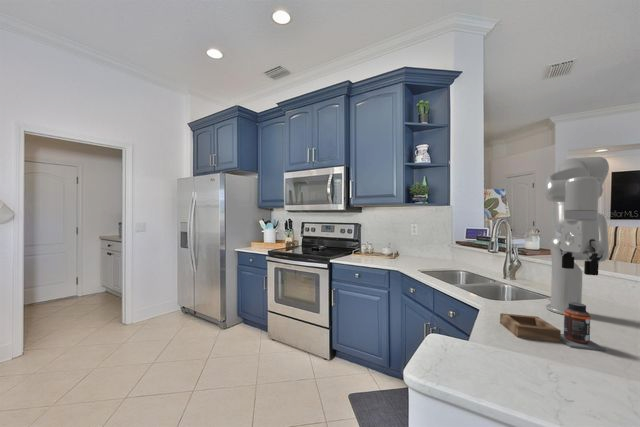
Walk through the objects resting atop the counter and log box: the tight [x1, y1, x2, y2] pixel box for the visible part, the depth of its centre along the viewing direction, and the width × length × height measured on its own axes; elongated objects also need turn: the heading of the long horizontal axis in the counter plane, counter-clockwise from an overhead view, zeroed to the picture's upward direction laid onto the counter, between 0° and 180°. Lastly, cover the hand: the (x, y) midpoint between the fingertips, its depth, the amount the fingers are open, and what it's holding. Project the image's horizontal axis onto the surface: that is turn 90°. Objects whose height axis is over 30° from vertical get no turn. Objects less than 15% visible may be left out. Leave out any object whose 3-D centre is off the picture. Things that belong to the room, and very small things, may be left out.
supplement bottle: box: [563, 302, 591, 344], centre depth 85 cm, size 6×6×11 cm
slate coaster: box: [560, 333, 607, 352], centre depth 85 cm, size 9×9×1 cm
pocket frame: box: [499, 312, 562, 343], centre depth 92 cm, size 12×12×4 cm
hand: (578, 271), depth 85 cm, fingers open, 9 cm apart
